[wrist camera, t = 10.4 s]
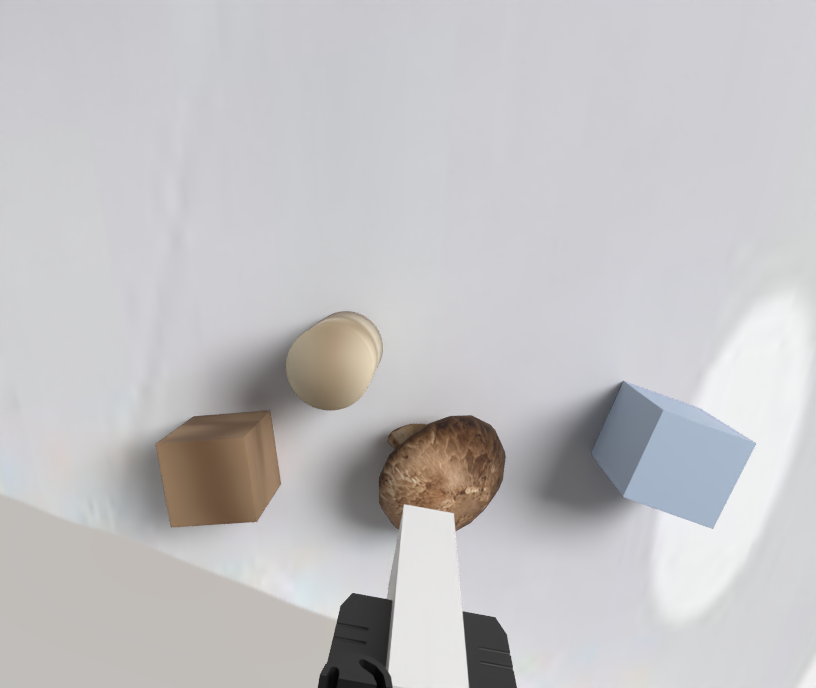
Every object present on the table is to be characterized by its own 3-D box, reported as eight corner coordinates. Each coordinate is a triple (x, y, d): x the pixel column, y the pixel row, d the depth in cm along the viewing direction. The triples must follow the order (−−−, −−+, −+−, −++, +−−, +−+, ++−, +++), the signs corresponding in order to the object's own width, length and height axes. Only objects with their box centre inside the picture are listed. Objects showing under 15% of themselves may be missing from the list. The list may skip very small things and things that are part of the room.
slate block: (590, 453, 34) (622, 497, 28) (623, 380, 33) (663, 410, 27) (665, 479, 34) (712, 528, 28) (699, 407, 33) (756, 443, 28)
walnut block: (206, 488, 36) (171, 527, 31) (194, 415, 35) (155, 444, 30) (281, 483, 36) (256, 521, 31) (270, 409, 35) (243, 437, 30)
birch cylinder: (307, 374, 34) (280, 402, 28) (317, 305, 33) (291, 319, 28) (376, 386, 34) (364, 417, 28) (388, 318, 33) (377, 334, 27)
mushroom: (338, 424, 31) (387, 499, 27) (454, 361, 33) (519, 420, 29) (372, 505, 36) (418, 581, 32) (472, 446, 38) (529, 508, 34)
